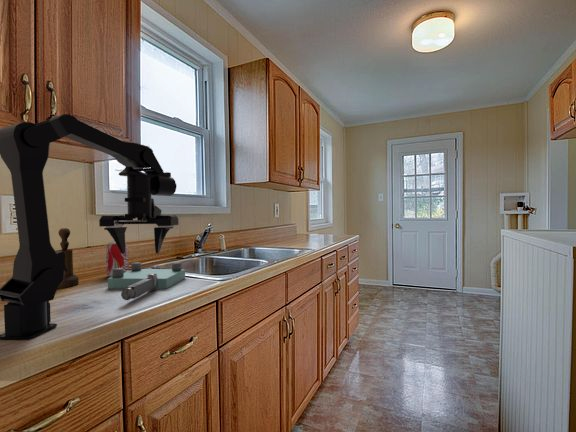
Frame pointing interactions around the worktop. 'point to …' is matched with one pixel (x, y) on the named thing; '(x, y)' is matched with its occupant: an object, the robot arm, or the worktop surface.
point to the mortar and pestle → (67, 261)
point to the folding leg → (140, 287)
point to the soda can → (116, 258)
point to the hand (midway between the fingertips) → (140, 253)
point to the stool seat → (146, 276)
